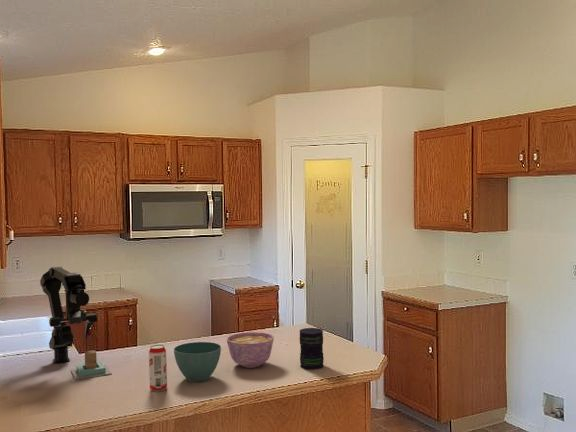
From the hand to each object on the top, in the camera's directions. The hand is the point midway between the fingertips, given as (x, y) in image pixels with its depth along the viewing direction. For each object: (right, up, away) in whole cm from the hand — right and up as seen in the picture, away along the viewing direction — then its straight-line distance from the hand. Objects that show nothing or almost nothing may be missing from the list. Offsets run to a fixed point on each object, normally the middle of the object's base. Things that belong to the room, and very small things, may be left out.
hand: (74, 340), depth 243 cm
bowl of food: (+74, -11, 0) cm, 75 cm away
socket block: (+9, -12, -6) cm, 16 cm away
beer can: (+42, -12, -29) cm, 52 cm away
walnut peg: (+9, -12, -6) cm, 16 cm away
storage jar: (+100, -10, -4) cm, 101 cm away
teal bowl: (+55, -12, -17) cm, 59 cm away
